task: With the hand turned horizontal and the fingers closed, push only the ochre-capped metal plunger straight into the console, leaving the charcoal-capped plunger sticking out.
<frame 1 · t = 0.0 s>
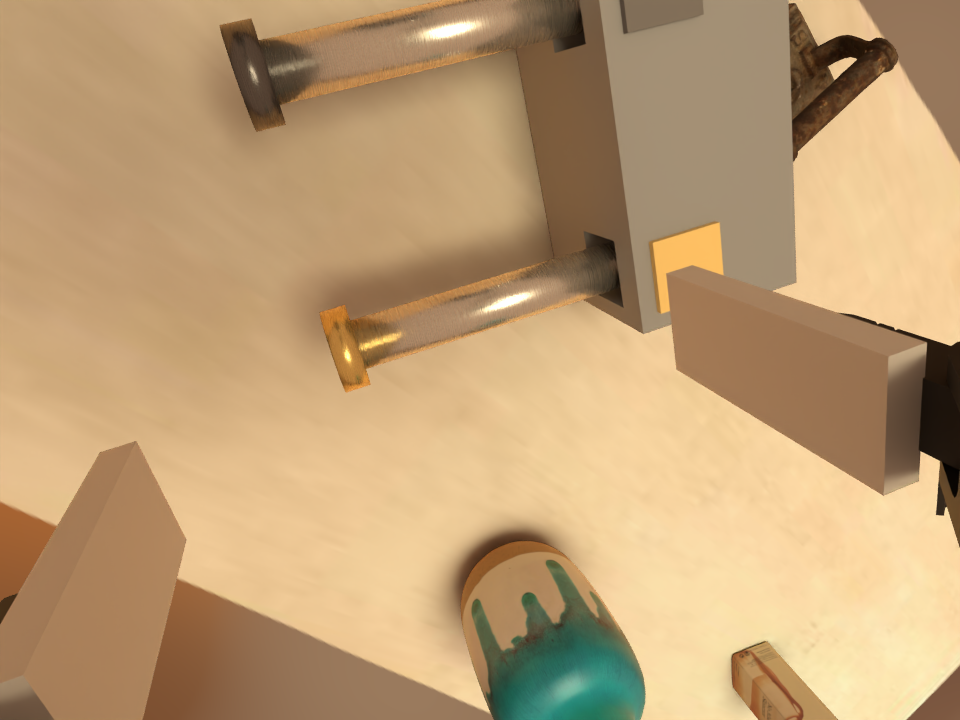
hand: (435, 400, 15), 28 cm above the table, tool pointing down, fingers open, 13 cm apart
clothes iron: (751, 100, 46), on the table
plunger ochre: (505, 298, 37), point 8 cm above the table, slide at 0.0 cm
vase: (507, 572, 54), on the table
skincare box: (747, 663, 66), on the table
console: (601, 126, 43), on the table
plunger grey: (447, 32, 31), point 8 cm above the table, slide at 0.0 cm
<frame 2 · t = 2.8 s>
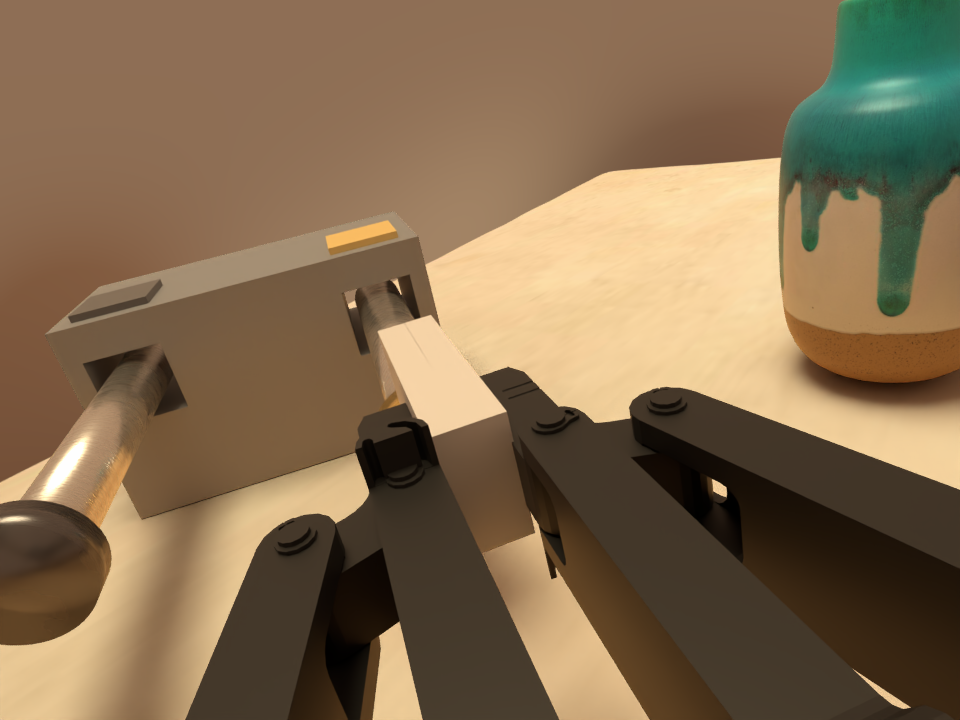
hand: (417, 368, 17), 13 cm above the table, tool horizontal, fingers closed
plunger ochre: (400, 352, 31), point 8 cm above the table, slide at 0.0 cm
vase: (882, 369, 36), on the table
console: (307, 430, 44), on the table
plunger grey: (106, 438, 29), point 8 cm above the table, slide at 0.0 cm
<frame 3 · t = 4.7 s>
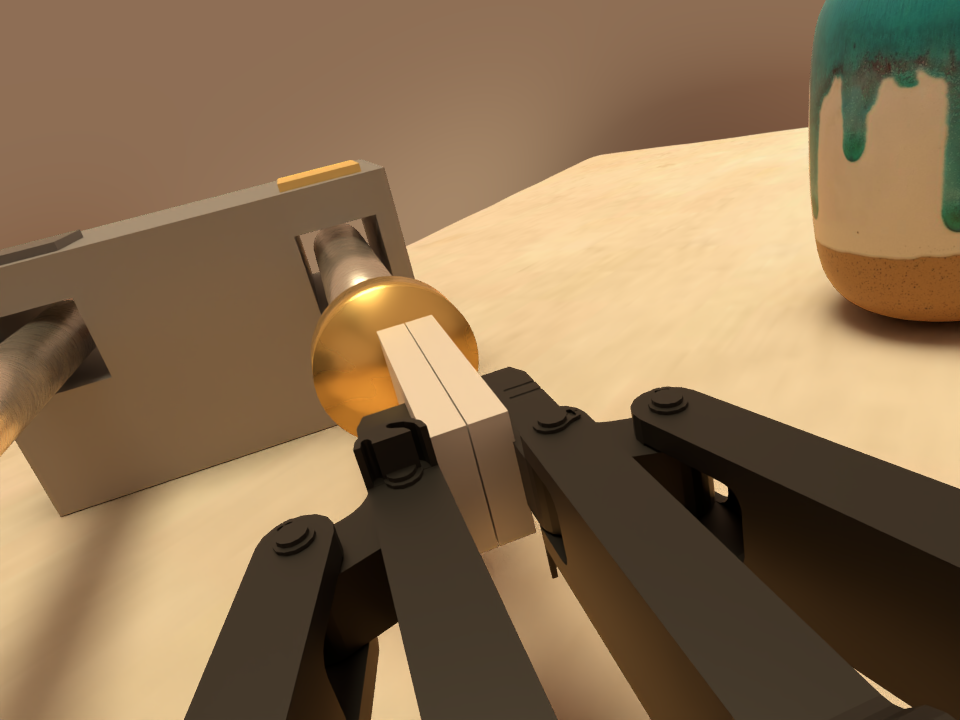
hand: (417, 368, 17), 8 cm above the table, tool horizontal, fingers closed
plunger ochre: (358, 287, 27), point 8 cm above the table, slide at 1.3 cm, touching gripper
vase: (934, 311, 31), on the table
console: (265, 411, 38), on the table
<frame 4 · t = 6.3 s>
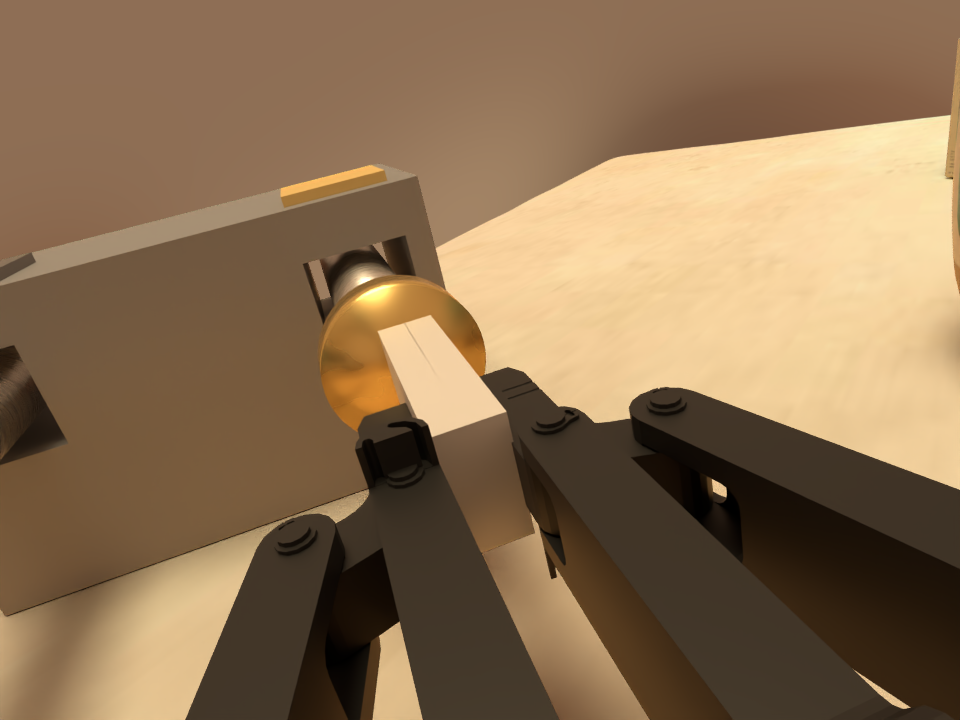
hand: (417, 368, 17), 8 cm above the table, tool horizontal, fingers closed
plunger ochre: (362, 286, 27), point 8 cm above the table, slide at 8.5 cm, touching gripper
console: (264, 468, 31), on the table
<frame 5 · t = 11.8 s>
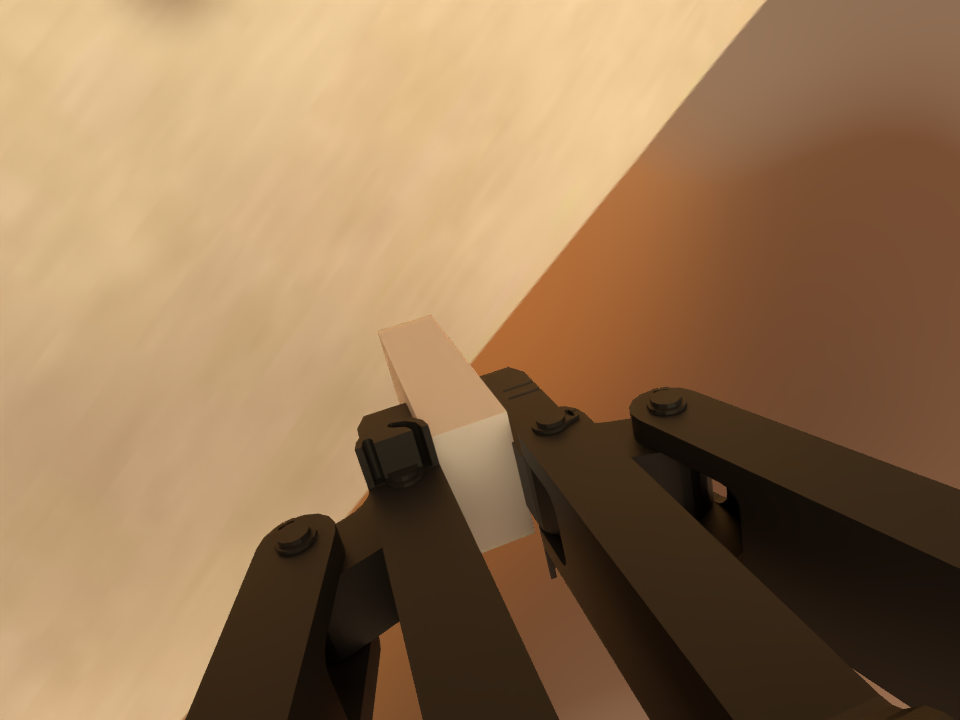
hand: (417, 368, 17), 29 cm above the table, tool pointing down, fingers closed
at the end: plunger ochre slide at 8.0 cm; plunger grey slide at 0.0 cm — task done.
